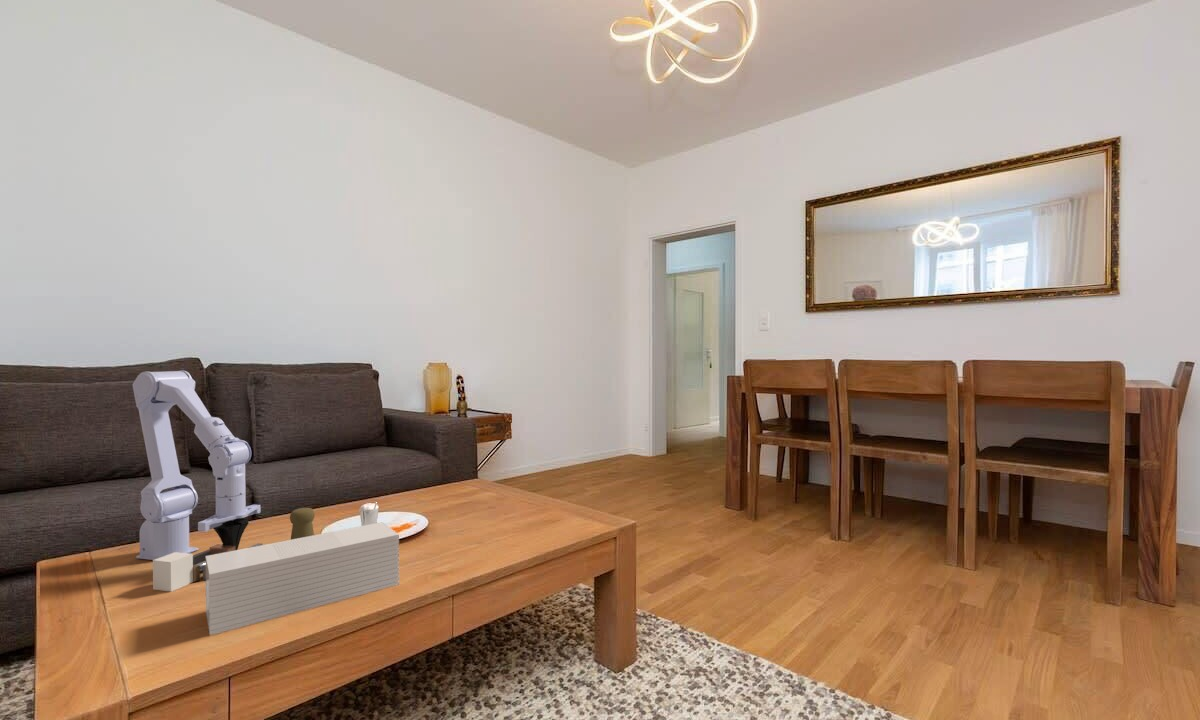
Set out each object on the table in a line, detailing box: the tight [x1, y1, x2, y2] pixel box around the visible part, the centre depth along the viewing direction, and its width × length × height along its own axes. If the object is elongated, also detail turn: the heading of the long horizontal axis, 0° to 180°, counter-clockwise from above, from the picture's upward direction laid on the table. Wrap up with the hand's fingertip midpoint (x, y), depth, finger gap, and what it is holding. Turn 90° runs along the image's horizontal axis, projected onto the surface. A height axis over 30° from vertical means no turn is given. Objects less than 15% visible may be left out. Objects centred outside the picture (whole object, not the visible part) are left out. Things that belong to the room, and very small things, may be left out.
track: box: [193, 542, 264, 581], centre depth 122 cm, size 9×14×3 cm, turn 167°
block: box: [152, 552, 194, 592], centre depth 111 cm, size 5×5×6 cm
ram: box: [193, 543, 236, 582], centre depth 119 cm, size 6×10×4 cm, turn 167°
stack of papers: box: [205, 521, 400, 636], centre depth 106 cm, size 32×11×11 cm, turn 129°
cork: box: [289, 507, 316, 540], centre depth 129 cm, size 6×6×11 cm
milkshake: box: [358, 501, 379, 526], centre depth 139 cm, size 4×5×10 cm
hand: (231, 552), depth 125 cm, fingers closed
